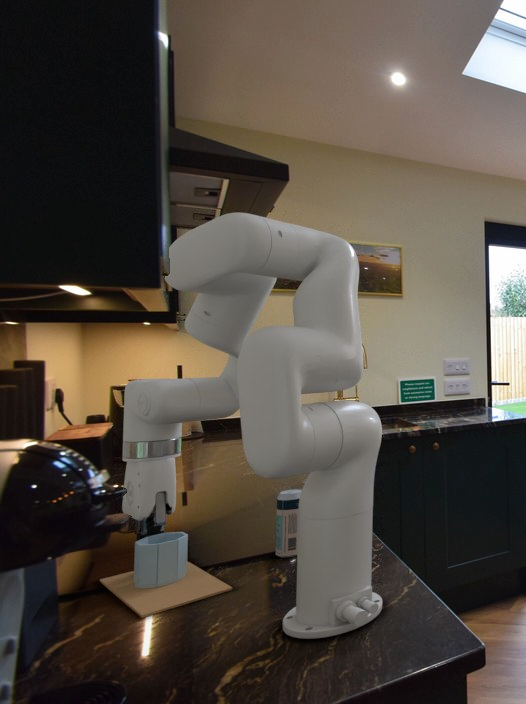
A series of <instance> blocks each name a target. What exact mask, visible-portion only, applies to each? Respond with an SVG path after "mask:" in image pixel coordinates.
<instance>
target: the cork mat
mask: <svg viewBox="0 0 526 704" xmlns="http://www.w3.org/2000/svg"><path fill="white" fill-rule="evenodd" d="M99 583H101V584H102V585H103V586H104V587H105V588H106V589H107V590H109V591H110V592H111V593H112V594H113V595H114V596H115V597H117V599H119V600H120V601H121V602H122V603H123V604H125V605H126V606H127V607H129V609H131V610H132V611H133V612H134V613H136V615H138V616H139V617H140V618H141V619H143V618H147V617H149V616H152V615H155V614H159V613H162V612H165V611H168V610H173V609H175V608H178V607H181V606H185V605H189V604H191V603H194V602H198V601H201V600H205V599H207V598H211V597H213V596H217V595H221V594H224V593H226V592H229V591H232V590H233V587H232V586H231V585H229V584H228V583H226V582H224V581H222V580H221V579H218V578H217V577H215V576H214V575H212V574H210V573H209V572H207V571H205V570H203V569H202V568H200V567H198V566H197V565H195V564H193V563H192V562H190V561H188V560H187V573H186V574H185V577H184V578H182V579H181V580H179V581H176V582H174V583H171V584H168V585H164V586H160V587H154V588H137V587H136V586H135V583H134V570H132V571H128V572H124V573H120V574H117V575H112V576H108V577H103V578H100V579H99Z"/></svg>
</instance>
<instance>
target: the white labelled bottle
mask: <svg viewBox="0 0 526 704" xmlns="http://www.w3.org/2000/svg"><path fill="white" fill-rule="evenodd" d="M302 489H303V488H292V489H286V490H282V491H280V492H279V493H278V495H277V497H276V520H275V521H276V523H275V555H276V556H277V557H280V558H282V559H283V558H284V559H285V558H287V559H288V558H293V557H297V546H298V510H299V499H300V495H301V491H302Z"/></svg>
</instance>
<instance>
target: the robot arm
mask: <svg viewBox="0 0 526 704" xmlns="http://www.w3.org/2000/svg"><path fill="white" fill-rule="evenodd" d="M168 248H169V258H170V274H169V275H168V276H165V278H164V277H163V278H164V280H165V282H166V283H167V284H168V286H170V287H171V288H173V289H175V290H177V291H181V292H184V293H185V292H186V293H195V294H197V295H196V297H195V298H194V299H195V300H194V301H193V303H192V306H191V308H190V310H189V312H188V314H187V316H186V317H185V320H184V329H185V331H186V332H187V334H189V336H191V337H192V339H194V340H196V341H198V342H199V343H201V344H203V345H205V346H207V347H210V348H212V349H215V350H218V351H220V352H222V353H225V354H227V355H228V356H227V357H228V359H227V361H226V364H225V366H224V368H223V370H222V371H221V374H220V375H219V376H215V377H214V376H213V377H212V376H211V377H210V376H209V377H186V378H185V377H184V378H140V379H139V378H138V379H134V380H130V381H128V383H126V385H125V387H124V395H123V396H124V400H123V401H124V402H123V427H122V428H123V429H122V431H123V432H122V461H123V462H126V466H125V472H124V480H123V483H124V484H123V489H124V488H126V489H127V493H126V494H125V495H124V496H123V495H122V505H121V511H122V513H123V514H125V515H126V514H128V515H131V516H132V517H131V518H132V519H134V520H136V539H135V542H136V541H139V540H141V539H143V538H145V537H148V536H153V535H157V534H162V533H165V526H166V524H167V516H170V515H173V513H174V512H175V511H176V505H177V471H176V470H177V468H176V467H177V466H176V458H178V457H181V456H182V444H183V443H182V439H183V437H182V436H183V423H190V422H191V423H192V422H200V421H210V420H211V421H212V420H221V419H226V418H228V417H231V416H233V415H234V414H236V413H237V412H238V411H239V417H240V430H241V439H242V440H241V441H242V448H243V453H244V457H245V460H246V463H247V464H248V466H249V468H250V469H251V470H252V472H254V473H255V474H256V475H257V476H259V477H261V478H264V479H267V480H279V479H287V478H291V477H295V476H300V475H304V474H308V476H307V478H306V480H305V482H304V483H303V484H304V485H303V486H302V488H301V489H302V491H301V495H300V499H299V510H298V546H297V556H296V593H295V594H296V597H295V606H294V607H293V608H292V609H290V610H289V611H288V612H287V613H286V614H285V615H284V617H283V618H282V631H283V632H284V634H285V635H287V636H288V637H289V636H290V637H292V638H295V639H303V640H315V639H322V638H329V637H335V636H339V635H343V634H345V633H348V632H351V631H354V630H356V629H359V628H360V627H361V628H362V627H363V626H365V625H367V624H368V623H370V622H372V621H373V620H374V619H376V618H377V617H378V616H379V615H380V613H381V611H382V609H383V598H382V596H381V595H380V594H378V593H376V592H373V586H372V575H373V574H372V572H373V571H372V568H373V566H372V565H373V563H372V562H373V518H374V517H373V516H374V512H373V511H374V489H375V488H374V487H375V475H376V474H375V473H376V466H377V461H378V457H379V452H380V448H381V443H382V438H383V437H382V435H383V426H382V421H381V418H380V415H379V414H378V413H377V411H376V410H375V409H374V408H373V407H371V405H369V404H367V403H365V402H362V401H359V400H350V399H349V400H348V399H347V400H344V399H343V400H341V399H340V400H331V401H329V400H328V401H319V402H311V403H302V395H309V394H324V393H334V392H340V391H345V390H349V389H352V388H353V387H355V386H356V385H358V384H359V382H360V381H361V380H362V378H363V376H364V375H363V374H364V371H365V370H364V369H365V367H364V366H365V365H364V360H365V359H364V347H363V340H362V339H363V338H362V328H361V317H360V310H359V301H358V297H359V295H358V294H359V293H358V292H359V281H360V262H359V258H358V255H357V253H356V251H355V249H354V247H353V246H352V245H351V244H350V242H348V240H345V239H344V238H342V237H340V236H337V235H335V234H333V233H328V232H326V231H322V230H319V229H314V228H311V227H307V226H303V225H300V224H299V225H298V224H296V223H295V224H294V223H291V222H285V221H281V220H278V219H274V218H271V217H270V218H269V217H265V216H261V215H257V214H252V213H249V212H240V211H239V212H230V213H229V212H228V213H225V214H223V215H220V216H217V217H215V218H213V219H211V220H209V221H207V222H204V223H203V224H201V225H198V226H196V227H195V228H193V229H190V230H188V231H187V232H185V233H183V234H182V235H180V236H179V237H178V238H176V239H175V240H174V241H173V242H172V244H170V246H169V247H168ZM278 279H285V280H291V281H300V282H301V283H300V285H299V286H298V288H297V289H296V291H295V293H294V294H293V298H292V314H293V325H268V326H264V327H260V328H258V329H256V330H254V331H252V330H253V328H254V326H255V324H256V322H257V320H258V317H259V316H260V314H261V312H262V310H263V308H264V306H265V304H266V302H267V301H268V298H269V297H270V295H271V293H272V290H273V288H274V286H275V284H276V282H277V280H278ZM128 515H127V516H128ZM166 515H167V516H166Z"/></svg>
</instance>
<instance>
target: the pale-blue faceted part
mask: <svg viewBox="0 0 526 704" xmlns="http://www.w3.org/2000/svg"><path fill="white" fill-rule="evenodd" d="M188 543H189V534H188V533H186V532H184V531H176V532H175V531H172V532H171V531H170V532H164V533H162V534H157V535H153V536H148V537H145V538H143V539H141V540H139V541H136V540H135V542H134V560H133V561H134V563H133V571H134V583H135V586H136V587H137V588H154V587H160V586H164V585H168V584H171V583H174V582H176V581H179V580H181V579H182V578H184V577H185V574H186V573H187V561H188V549H189V548H188V546H189V544H188Z"/></svg>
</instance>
